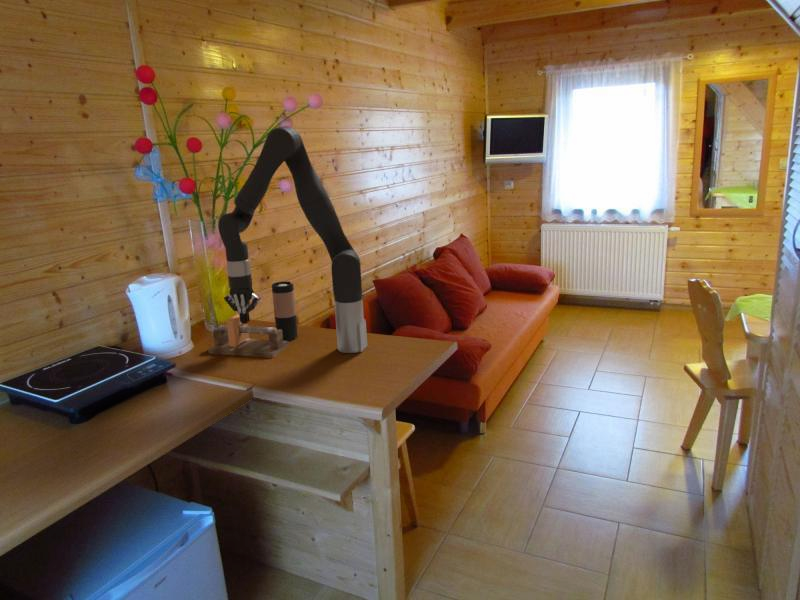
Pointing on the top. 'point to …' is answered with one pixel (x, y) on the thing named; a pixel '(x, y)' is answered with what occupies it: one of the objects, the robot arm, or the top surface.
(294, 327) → the travel mug
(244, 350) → the rod stand
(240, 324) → the light wood square slab
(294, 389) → the top surface
